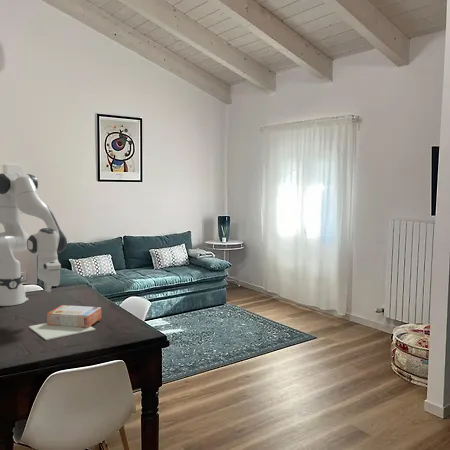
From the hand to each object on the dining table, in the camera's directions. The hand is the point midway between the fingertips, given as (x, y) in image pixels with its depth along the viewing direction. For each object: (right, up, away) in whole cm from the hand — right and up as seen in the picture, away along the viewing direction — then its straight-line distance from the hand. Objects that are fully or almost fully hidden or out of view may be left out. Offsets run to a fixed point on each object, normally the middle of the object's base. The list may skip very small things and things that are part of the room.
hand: (48, 291), depth 223 cm
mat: (+10, -15, -10) cm, 21 cm away
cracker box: (+3, -11, -1) cm, 11 cm away
